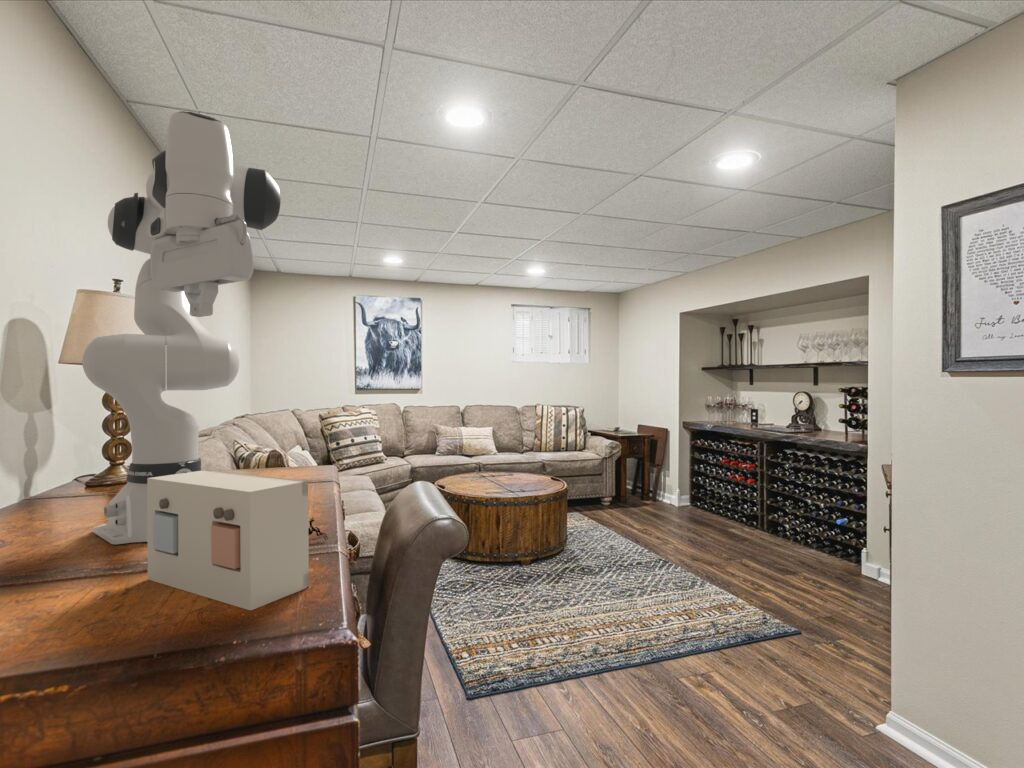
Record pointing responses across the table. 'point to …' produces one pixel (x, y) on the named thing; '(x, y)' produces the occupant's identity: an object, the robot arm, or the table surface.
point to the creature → (315, 530)
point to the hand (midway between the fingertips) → (201, 316)
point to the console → (263, 535)
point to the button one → (166, 532)
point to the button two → (225, 545)
